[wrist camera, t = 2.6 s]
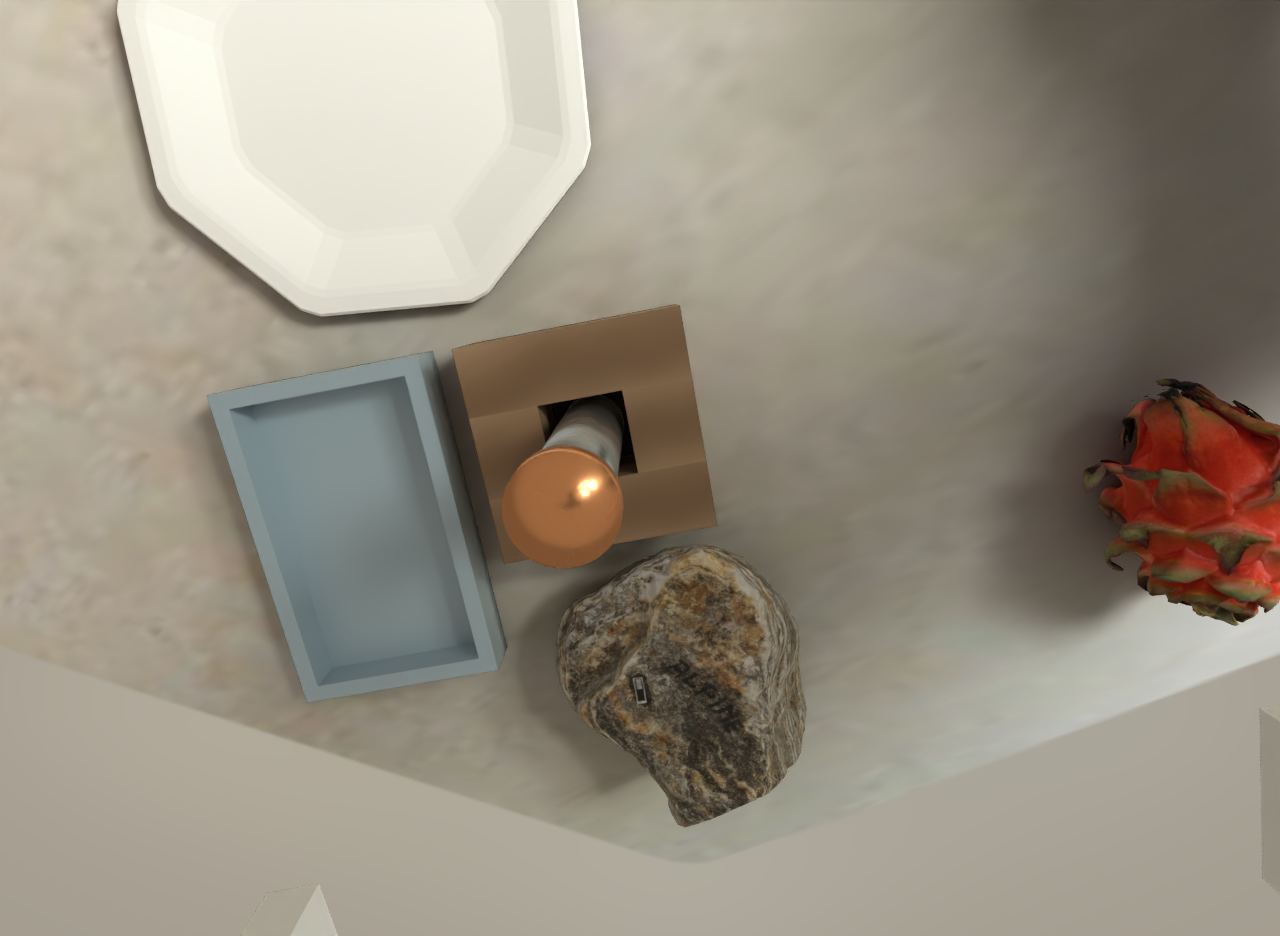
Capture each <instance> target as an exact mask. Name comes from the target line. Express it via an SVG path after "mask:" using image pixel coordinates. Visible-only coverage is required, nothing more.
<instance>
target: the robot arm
mask: <svg viewBox="0 0 1280 936" xmlns="http://www.w3.org/2000/svg"><path fill="white" fill-rule="evenodd" d="M1260 761H1261V762H1260V767H1261V824H1262V825H1261V827H1262V878H1263V879H1264V880H1265V881H1266V882H1267V883H1268V884H1269V885H1270V886H1271V887H1272V888H1274V889H1275V890H1276V891H1277V892H1278V893H1279V894H1280V705H1275V706H1269V707H1264V708H1260ZM241 936H338V934H337V931H336V929H335V926H334V923H333V921H332V918H331V915H330V912H329V910H328V907H327V904H326V902H325V899H324V896H323V894H322V891H321V888H320V885H319V884H313V885H308V886H302V887H297V888H292V889H286V890H281V891H275V892H270V893H267V894H266V895H265V897H264V899H263V900H262V902H261V903H260V905H259V907H258V908H257V910H256V911H255V913H254V915H253V917H252V918H251V920H250V921H249V923H248V924H247V926H246V928H245V929H244V931H243V933H242V934H241Z"/></svg>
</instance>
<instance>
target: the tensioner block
mask: <svg viewBox="0 0 1280 936" xmlns="http://www.w3.org/2000/svg"><path fill="white" fill-rule="evenodd" d="M452 352H453V357H454V361H455V365H456V369H457V373H458V377H459V381H460V385H461V389H462V393H463V397H464V401H465V405H466V410H467V414H468V418H469V422H470V426H471V430H472V434H473V438H474V442H475V446H476V450H477V454H478V459H479V463H480V467H481V471H482V475H483V479H484V483H485V487H486V491H487V495H488V499H489V503H490V507H491V512H492V516H493V520H494V524H495V528H496V532H497V536H498V540H499V544H500V548H501V552H502V556H503V560H504V564H505V563H511V562H516V561H522V560H528V559H530V558H528V557H527V556H525V555H524V554H523V553H522V552H521V551H520V550H519V549H518V548H517V547H516V546H515V545H514V544H513V542H512V541H511V539H510V538H509V536H508V534H507V532H506V529H505V526H504V523H503V518H502V499H503V495H504V491H505V489H506V486H507V484H508V482H509V481H510V479H511V477H512V476H513V475H514V473H515V472H516V470H517V469H518V468H519V466H520V465H521V464H522V463H523V462H524V461H525V460H526V459H527V458H529V457H530V456H531V455H533V454H534V453H536V452H538V451H540V450H542V448H543V447H544V445H545V444H546V442H547V440H548V439H549V437H550V436H551V434H552V433H553V431H554V430H555V428H556V426H555V421H554V416H553V412H552V407H551V403H557V402H562V401H567V400H573V399H578V398H583V397H589V396H594V395H599V394H605V393H610V392H615V391H621V390H622V392H623V397H624V403H625V408H626V413H627V418H628V423H629V428H630V434H631V439H632V444H633V449H634V454H635V455H631V456H626V457H621V458H620V461H619V469H618V477H617V478H618V480H619V482H620V485H621V489H622V493H623V516H622V523H621V527H620V530H619V533H618V535H617V537H616V539H615V540H614V542H613V544H617V543H623V542H629V541H634V540H640V539H646V538H651V537H657V536H662V535H668V534H674V533H679V532H685V531H690V530H696V529H702V528H707V527H713V526H717V521H716V515H715V509H714V503H713V497H712V491H711V486H710V480H709V474H708V468H707V462H706V456H705V451H704V445H703V439H702V433H701V427H700V421H699V415H698V410H697V404H696V398H695V392H694V386H693V380H692V375H691V369H690V363H689V357H688V351H687V345H686V339H685V334H684V328H683V322H682V316H681V310H680V305H676V304H675V305H670V306H664V307H659V308H654V309H649V310H644V311H638V312H633V313H628V314H623V315H618V316H612V317H607V318H602V319H597V320H592V321H586V322H581V323H576V324H571V325H566V326H560V327H555V328H550V329H545V330H540V331H534V332H529V333H524V334H519V335H514V336H508V337H503V338H498V339H493V340H488V341H482V342H477V343H472V344H469V345H465V346H462V347H458V348H455V349H452Z"/></svg>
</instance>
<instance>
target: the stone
mask: <svg viewBox="0 0 1280 936" xmlns="http://www.w3.org/2000/svg"><path fill="white" fill-rule="evenodd" d="M556 645H557V659H556V667H557V671H558V676H559V680H560V684H561V687H562V690H563V691H564V693H565V695H566V697H567V699H568V701H569V702H570V704H571V705H572V707H573V708H574V709H575V711H576V712H577V713H579V714H580V716H581V718H582V719H583V720H584V721H585V722H586V723H587V724H588V725H589V726H590V727H591V728H592V729H593V730H594V731H596V732H597V733H600V734H602V735H604V736H606V737H607V738H609V739H610V740H612V741H613V742H614V743H615V744H616V745H617V746H619V747H620V748H621V749H623V750H625V751H628V752H629V753H631V754H632V755H634V756H635V757H636V758H637V759H638V761H639V762H640V764H641V765H642V766H643V767H644V768H645V769H646V770H647V772H648V773H649V774H650V775H651V776H652V777H653V778H654V779H655V780H656V782H657V783H658V784H659V785H660V787H661V788H662V789H663V791H664V792H665V794H666V795H667V797H668V804H669V808H670V811H671V813H672V815H673V817H674V819H675V821H676V822H677V824H678V825H680V826H683V827H688V826H691V825H695V824H698V823H701V822H704V821H707V820H710V819H713V818H715V817H717V816H720V815H722V814H724V813H727V812H729V811H731V810H733V809H735V808H737V807H740V806H742V805H745V804H747V803H749V802H751V801H754V800H756V799H757V798H759V797H762V796H764V795H766V794H767V793H769V792H770V791H771V790H772V789H773V788H775V787H776V786H777V785H778V784H779V783H780V781H781V780H782V779H783V778H784V777H785V775H786V773H787V768H789V767H790V766H792V765H793V764H794V763H795V762H796V760H797V759H798V757H799V755H800V752H801V743H802V735H803V732H804V730H805V727H804V724H805V716H806V703H805V700H804V696H803V693H802V691H801V680H800V673H799V666H798V651H799V629H798V626H797V624H796V622H795V620H794V617H793V616H792V614H791V612H790V610H789V608H788V606H787V605H786V603H785V601H784V600H783V598H781V597H780V596H779V595H778V594H777V593H776V592H775V591H774V590H773V589H772V588H771V586H770V585H769V584H768V583H767V582H766V580H765V579H764V578H763V577H762V576H761V575H759V574H758V573H757V572H756V570H755V569H753V568H752V567H751V566H750V565H749V564H748V562H747V561H746V560H745V559H744V558H743V557H738V556H736V555H734V554H732V553H729V552H727V551H725V550H723V549H720V548H716V547H714V546H707V545H691V546H685V547H671V548H666V549H663V550H662V551H661V552H659V553H658V554H656V555H655V556H646V557H643V559H642V560H639V561H637V562H635V563H633V564H632V565H631V566H629V567H627V568H625V569H623V570H622V571H620V572H619V573H618V574H617V575H616V576H615V577H614V578H613V579H612V580H611V581H610V582H609V583H608V584H606V585H604V586H602V587H600V588H599V589H598V590H596V591H594V592H592V593H590V594H587V595H585V596H583V597H582V598H580V599H577V600H575V601H574V602H573V603H572V604H571V605H570V607H569V608H567V610H566V612H565V614H564V615H563V617H562V620H561V623H560V626H559V632H558V638H557V643H556Z"/></svg>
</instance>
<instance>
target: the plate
mask: <svg viewBox="0 0 1280 936" xmlns="http://www.w3.org/2000/svg"><path fill="white" fill-rule="evenodd" d="M116 12H117V16H118V21H119V25H120V29H121V34H122V38H123V43H124V47H125V51H126V56H127V60H128V64H129V69H130V73H131V77H132V82H133V86H134V90H135V95H136V99H137V103H138V108H139V112H140V116H141V121H142V125H143V129H144V134H145V138H146V142H147V147H148V151H149V155H150V160H151V164H152V168H153V173H154V177H155V182H156V186H157V189H158V190H159V192H160V193H161V195H162V197H163V198H164V200H165V201H166V203H167V204H168V206H169V208H171V209H172V210H173V211H175V212H176V213H177V214H178V215H180V216H181V217H182V218H184V219H185V220H186V221H187V222H189V223H190V224H191V225H192V226H194V227H195V228H196V229H198V230H199V231H200V232H201V233H203V234H204V235H205V236H206V237H208V238H209V239H210V240H212V241H213V242H214V243H215V244H217V245H218V246H219V247H221V248H222V249H223V250H224V251H226V252H227V253H228V254H229V255H231V256H232V257H233V258H235V259H236V260H237V261H238V262H240V263H241V264H242V265H244V266H245V267H246V268H247V269H249V270H250V271H251V272H252V273H254V274H255V275H256V276H258V277H259V278H260V279H261V280H263V281H264V282H265V283H266V284H268V285H269V286H270V287H272V288H273V289H274V290H275V291H277V292H278V293H279V294H281V295H282V296H283V297H284V298H286V299H287V300H288V301H289V302H291V303H292V304H293V305H295V306H296V307H297V308H298V309H300V310H301V311H304V312H307V313H310V314H314V315H317V316H320V317H323V316H334V315H345V314H355V313H366V312H377V311H388V310H399V309H409V308H420V307H431V306H442V305H453V304H463V303H472V302H474V301H476V300H478V299H479V298H481V297H483V296H485V295H487V294H488V293H490V292H491V290H492V289H493V288H494V286H495V285H496V284H497V283H498V281H499V280H500V279H501V277H502V276H503V275H504V273H505V272H506V271H507V269H508V268H509V267H510V266H511V264H512V263H513V262H514V260H515V259H516V258H517V256H518V255H519V254H520V252H521V251H522V250H523V249H524V247H525V246H526V245H527V243H528V242H529V241H530V239H531V238H532V237H533V235H534V234H535V233H536V232H537V230H538V229H539V228H540V226H541V225H542V224H543V222H544V221H545V220H546V218H547V217H548V216H549V215H550V213H551V212H552V211H553V209H554V208H555V207H556V205H557V204H558V203H559V201H560V200H561V199H562V198H563V196H564V195H565V194H566V192H567V191H568V190H569V188H570V187H571V186H572V184H573V183H574V182H575V181H576V179H577V178H578V177H579V175H580V174H581V173H582V171H583V170H584V169H585V167H586V163H587V159H588V156H589V152H590V148H591V141H590V130H589V120H588V110H587V100H586V90H585V80H584V69H583V59H582V49H581V39H580V29H579V18H578V8H577V0H118V3H117V11H116Z"/></svg>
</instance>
